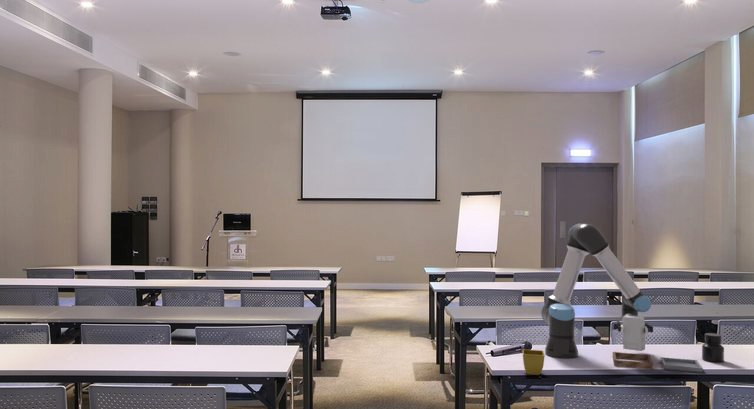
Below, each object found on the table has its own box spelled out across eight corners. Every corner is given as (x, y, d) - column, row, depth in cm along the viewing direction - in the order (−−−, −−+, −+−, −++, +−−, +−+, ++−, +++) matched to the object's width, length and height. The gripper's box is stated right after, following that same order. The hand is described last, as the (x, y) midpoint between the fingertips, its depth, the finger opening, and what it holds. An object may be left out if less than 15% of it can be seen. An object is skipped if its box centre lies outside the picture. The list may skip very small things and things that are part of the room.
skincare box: (645, 349, 277) (645, 317, 277) (640, 351, 273) (641, 318, 273) (626, 346, 283) (627, 314, 283) (621, 348, 278) (622, 316, 278)
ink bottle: (729, 362, 280) (729, 336, 280) (712, 363, 278) (712, 337, 278) (713, 357, 290) (713, 332, 290) (697, 358, 288) (697, 332, 288)
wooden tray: (614, 365, 272) (614, 360, 272) (612, 357, 288) (612, 351, 288) (653, 369, 267) (653, 363, 267) (649, 360, 283) (649, 354, 283)
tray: (664, 369, 267) (664, 364, 267) (660, 361, 281) (660, 357, 281) (702, 372, 262) (702, 368, 262) (696, 364, 276) (696, 360, 276)
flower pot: (544, 377, 253) (544, 355, 253) (522, 375, 255) (523, 354, 255) (543, 371, 261) (543, 350, 262) (522, 370, 263) (522, 349, 263)
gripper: (655, 332, 291) (661, 341, 270) (606, 328, 298) (608, 337, 277) (656, 316, 291) (661, 324, 270) (606, 313, 298) (608, 320, 277)
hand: (634, 331), depth 274 cm, fingers closed on skincare box, 9 cm apart
